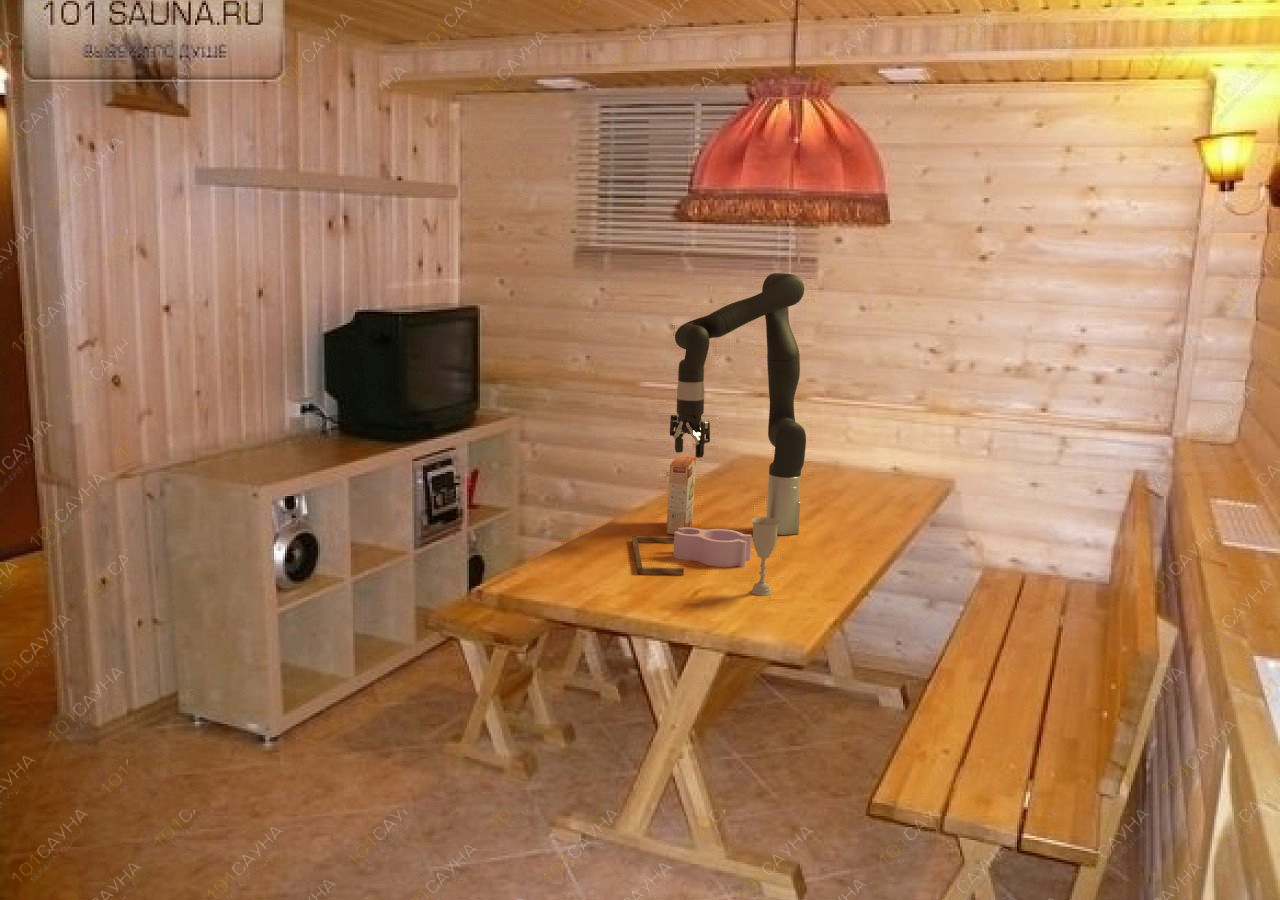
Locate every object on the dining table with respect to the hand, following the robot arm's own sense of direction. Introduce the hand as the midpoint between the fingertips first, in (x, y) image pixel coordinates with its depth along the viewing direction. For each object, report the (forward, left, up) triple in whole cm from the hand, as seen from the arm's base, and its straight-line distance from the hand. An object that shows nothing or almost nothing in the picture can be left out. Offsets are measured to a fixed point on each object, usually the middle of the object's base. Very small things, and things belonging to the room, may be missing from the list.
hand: (689, 454), depth 301 cm
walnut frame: (+9, +17, -25) cm, 31 cm away
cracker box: (0, -11, -25) cm, 28 cm away
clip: (-5, +17, -25) cm, 31 cm away
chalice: (-15, +44, -25) cm, 52 cm away
